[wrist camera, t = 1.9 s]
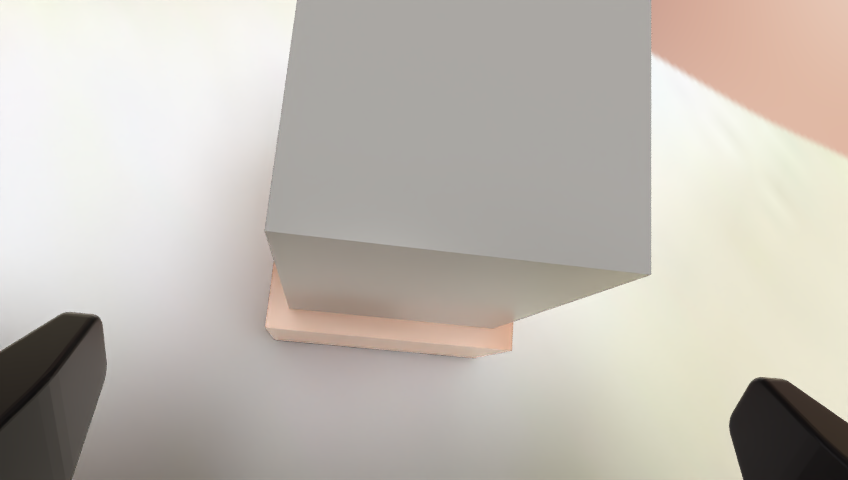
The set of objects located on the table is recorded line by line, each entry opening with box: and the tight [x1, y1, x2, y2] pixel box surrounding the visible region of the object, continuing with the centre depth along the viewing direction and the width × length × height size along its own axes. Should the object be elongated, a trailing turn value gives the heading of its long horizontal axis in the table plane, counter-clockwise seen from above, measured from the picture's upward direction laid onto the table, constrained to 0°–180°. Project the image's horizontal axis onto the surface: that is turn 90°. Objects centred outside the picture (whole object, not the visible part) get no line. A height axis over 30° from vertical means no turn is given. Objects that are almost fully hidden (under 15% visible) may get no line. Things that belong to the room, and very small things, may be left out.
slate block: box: [265, 0, 651, 329], centre depth 13 cm, size 5×5×8 cm
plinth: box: [265, 262, 513, 358], centre depth 19 cm, size 6×6×4 cm
